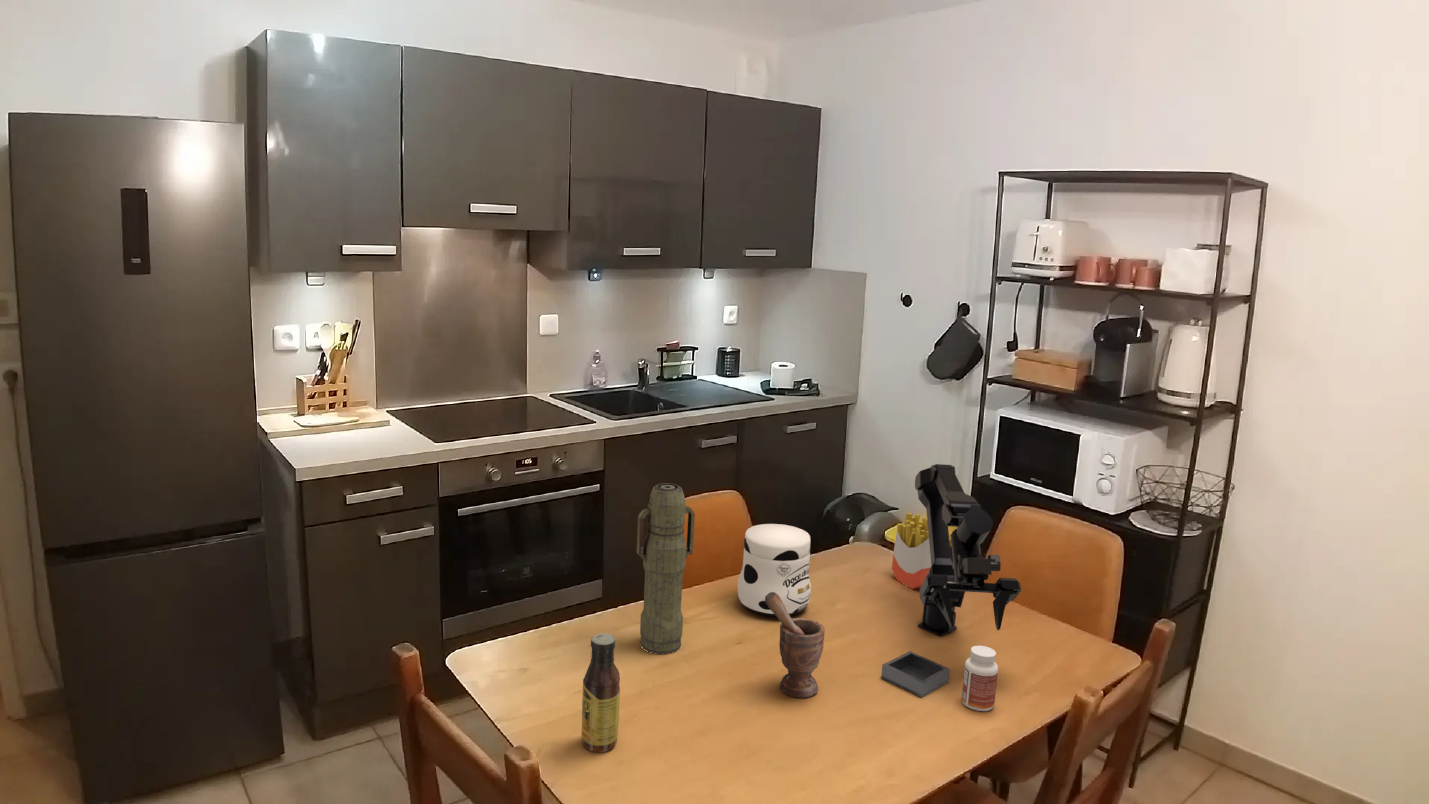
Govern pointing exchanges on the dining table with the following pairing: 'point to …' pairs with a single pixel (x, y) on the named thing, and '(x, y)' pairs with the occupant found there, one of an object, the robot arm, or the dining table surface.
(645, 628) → the thermos
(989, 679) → the pill bottle
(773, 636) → the dining table surface
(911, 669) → the gray open box
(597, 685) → the sauce bottle
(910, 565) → the french fries container
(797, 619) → the mortar and pestle
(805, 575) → the milk container
